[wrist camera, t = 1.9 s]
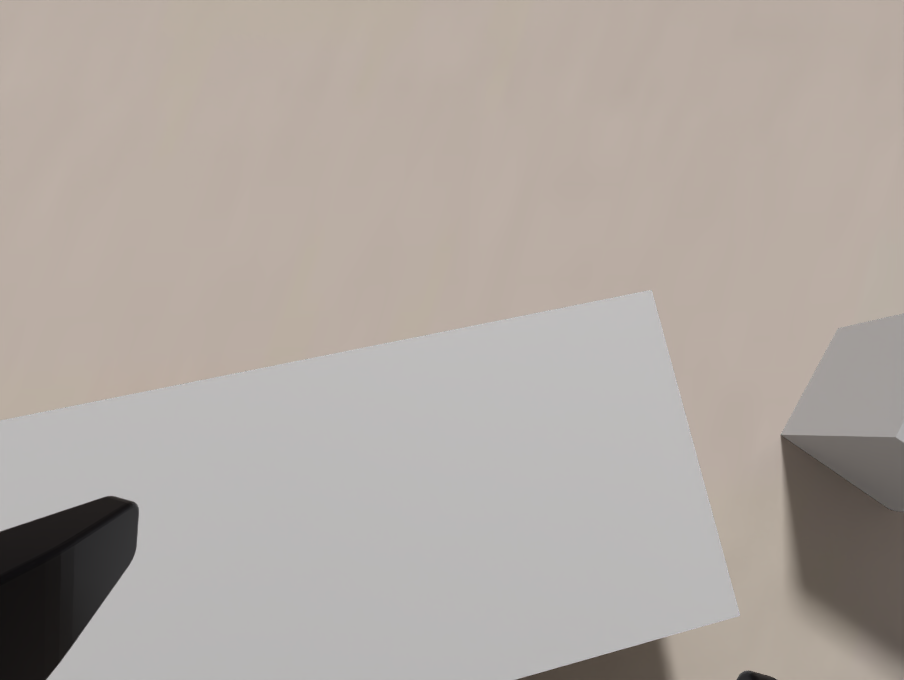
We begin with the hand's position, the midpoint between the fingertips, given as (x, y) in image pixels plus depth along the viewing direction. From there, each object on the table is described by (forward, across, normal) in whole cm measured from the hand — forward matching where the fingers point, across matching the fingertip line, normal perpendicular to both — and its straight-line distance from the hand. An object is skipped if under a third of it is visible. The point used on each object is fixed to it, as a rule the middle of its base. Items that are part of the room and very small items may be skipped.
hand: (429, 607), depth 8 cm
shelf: (+12, +6, +9) cm, 16 cm away
